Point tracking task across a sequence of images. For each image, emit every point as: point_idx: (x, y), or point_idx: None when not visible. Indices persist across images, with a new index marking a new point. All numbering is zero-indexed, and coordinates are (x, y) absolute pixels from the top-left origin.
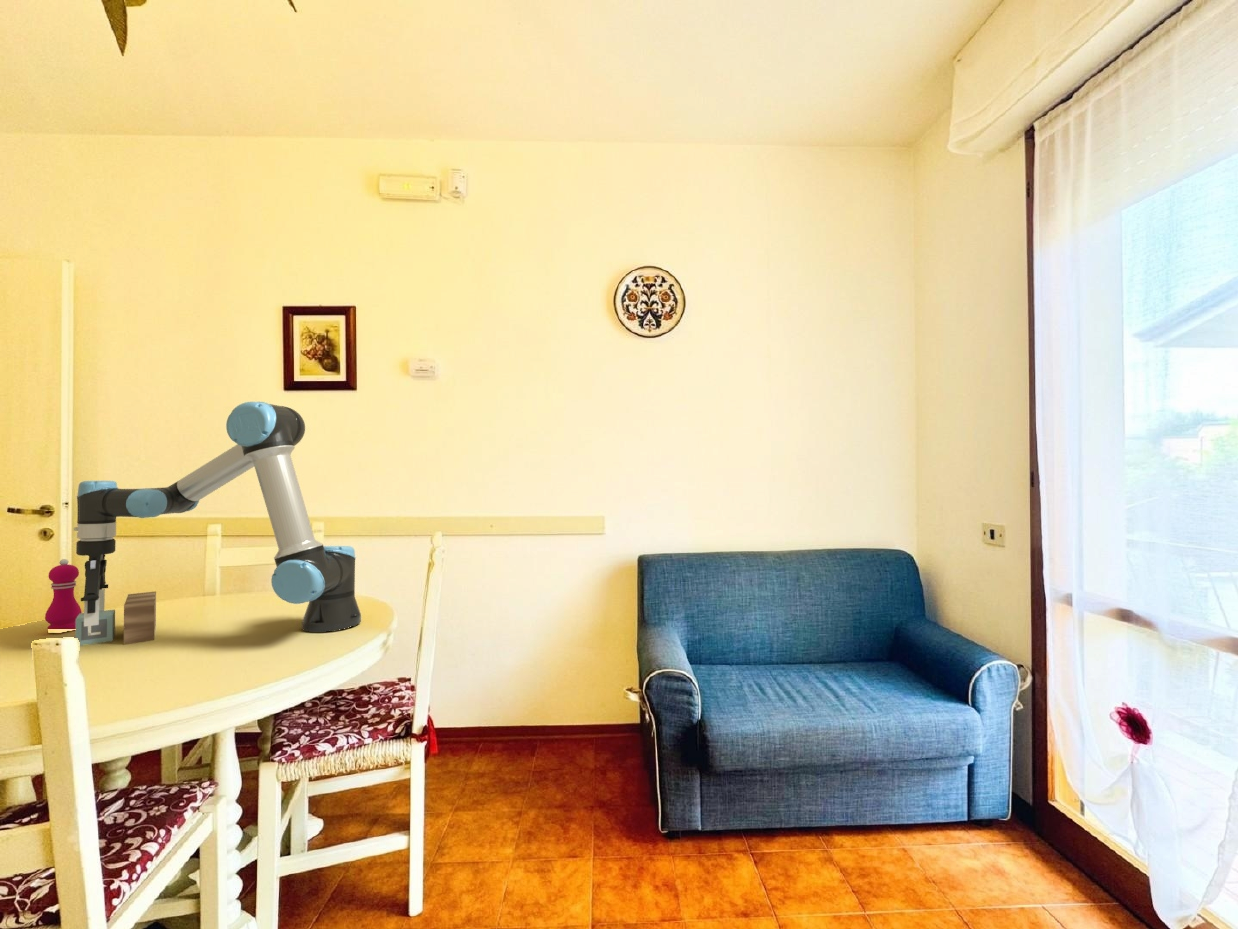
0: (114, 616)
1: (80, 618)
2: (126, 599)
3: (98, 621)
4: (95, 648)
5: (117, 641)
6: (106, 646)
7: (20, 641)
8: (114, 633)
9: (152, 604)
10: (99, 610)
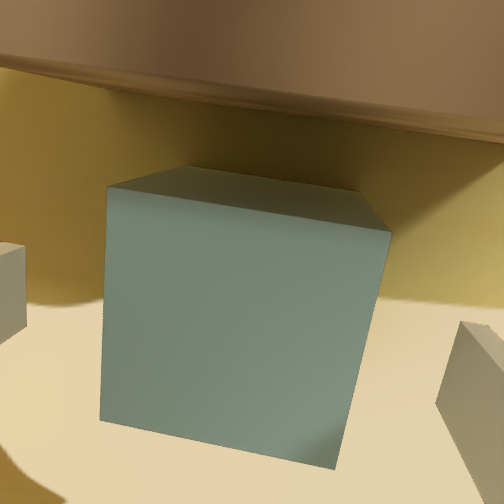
0: (188, 188)
1: (325, 442)
2: (283, 87)
3: (501, 341)
4: (472, 281)
5: (392, 169)
6: (477, 231)
7: (26, 487)
8: (208, 170)
9: None
10: (7, 284)
